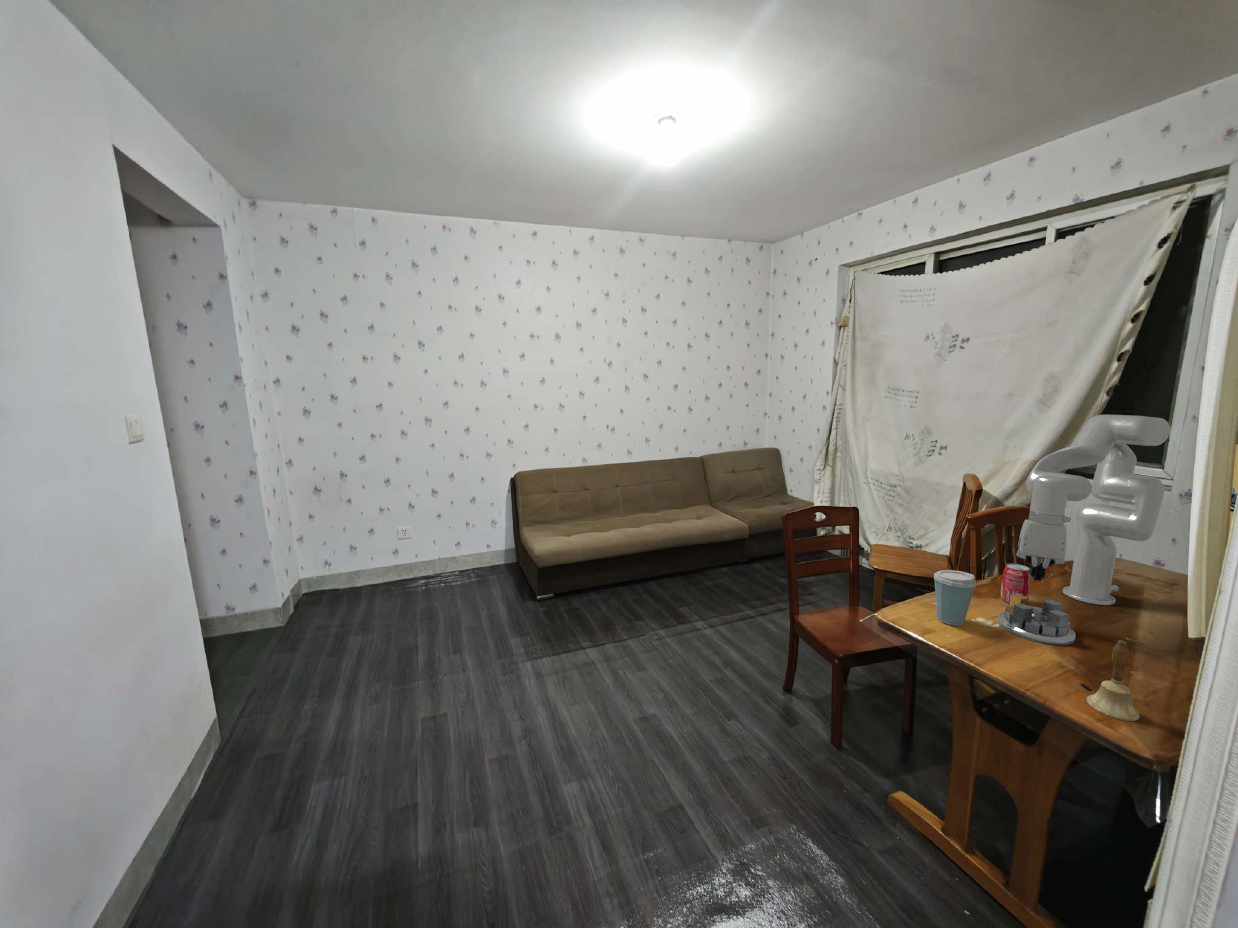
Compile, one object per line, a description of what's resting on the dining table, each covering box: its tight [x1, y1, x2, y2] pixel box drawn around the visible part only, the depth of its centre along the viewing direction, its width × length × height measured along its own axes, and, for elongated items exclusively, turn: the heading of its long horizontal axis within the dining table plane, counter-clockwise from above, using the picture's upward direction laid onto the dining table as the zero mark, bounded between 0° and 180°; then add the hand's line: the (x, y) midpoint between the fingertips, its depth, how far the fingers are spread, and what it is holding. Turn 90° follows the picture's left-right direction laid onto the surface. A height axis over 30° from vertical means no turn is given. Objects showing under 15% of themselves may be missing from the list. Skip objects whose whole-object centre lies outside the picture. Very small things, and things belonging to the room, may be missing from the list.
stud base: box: [997, 610, 1077, 646], centre depth 140 cm, size 17×17×5 cm
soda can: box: [1000, 563, 1032, 604], centre depth 157 cm, size 7×7×12 cm
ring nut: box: [1004, 594, 1071, 637], centre depth 139 cm, size 14×14×6 cm
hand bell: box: [1085, 639, 1141, 722], centre depth 105 cm, size 8×8×16 cm
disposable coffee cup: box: [933, 569, 977, 627], centre depth 145 cm, size 11×11×15 cm
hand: (1036, 578), depth 142 cm, fingers closed
